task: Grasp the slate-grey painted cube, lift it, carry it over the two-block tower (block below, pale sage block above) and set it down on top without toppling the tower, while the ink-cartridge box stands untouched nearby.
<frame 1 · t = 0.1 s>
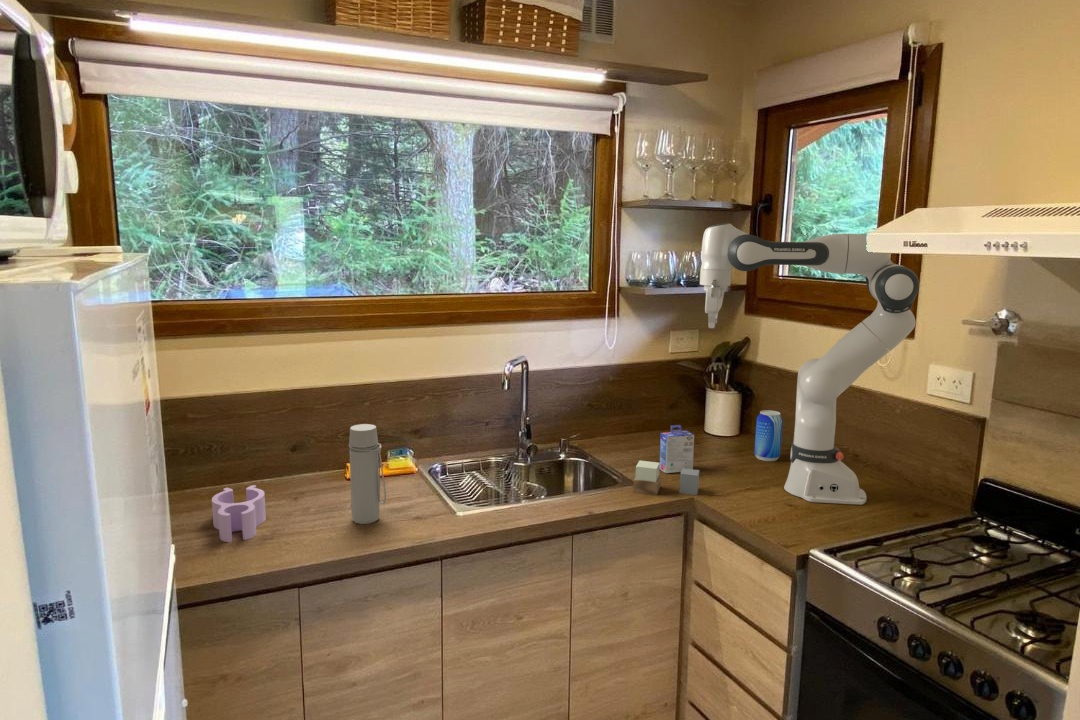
hand: (712, 326, 209), 48 cm above the worktop, fingers open, 8 cm apart
tower base: (646, 490, 208), on the worktop, touching tower top
ink cartridge box: (675, 470, 226), on the worktop
tower top: (647, 477, 207), point 4 cm above the worktop, touching tower base
clip: (239, 526, 179), on the worktop
water bottle: (369, 520, 183), on the worktop
grey block: (688, 491, 207), on the worktop
beer can: (766, 458, 239), on the worktop
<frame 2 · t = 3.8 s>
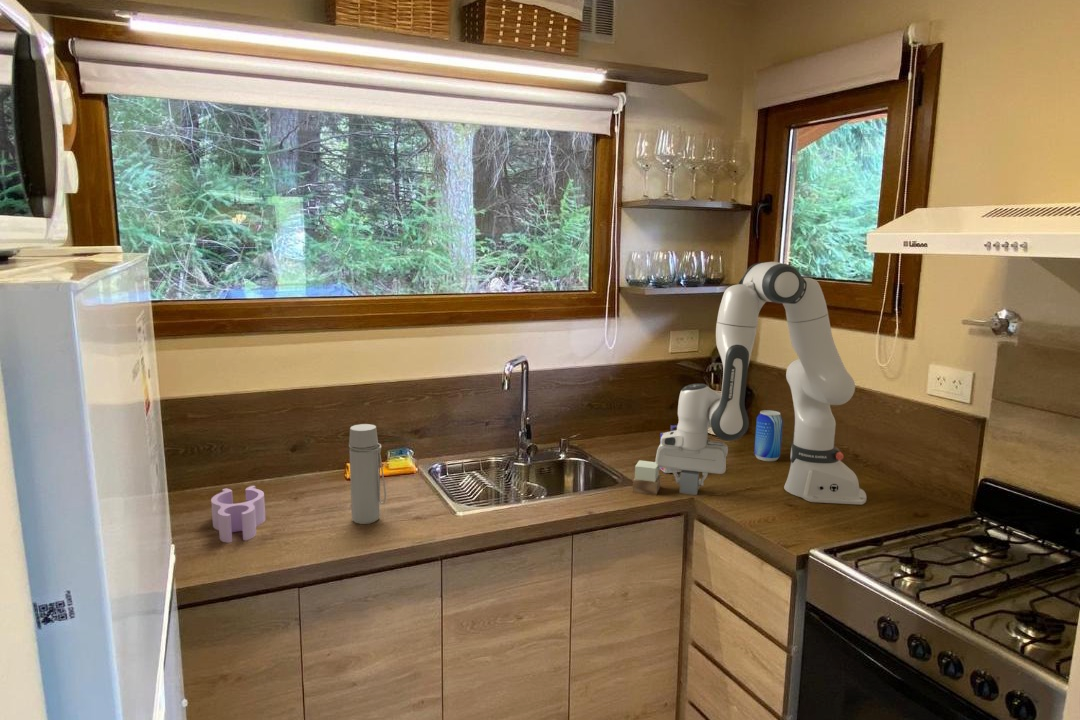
hand: (689, 484, 207), 2 cm above the worktop, fingers closed on grey block, 5 cm apart
grey block: (688, 491, 207), on the worktop, touching gripper
everything else where it was.
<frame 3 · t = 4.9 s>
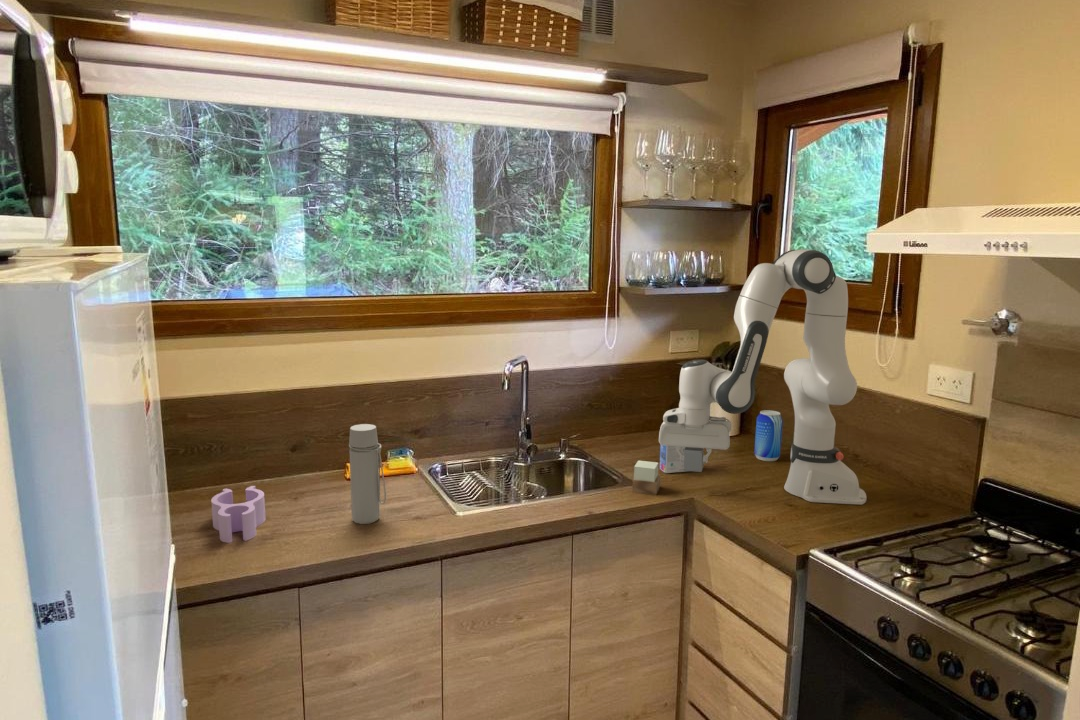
hand: (693, 461, 206), 9 cm above the worktop, fingers closed on grey block, 5 cm apart
grey block: (693, 468, 206), point 7 cm above the worktop, touching gripper
everything else where it was.
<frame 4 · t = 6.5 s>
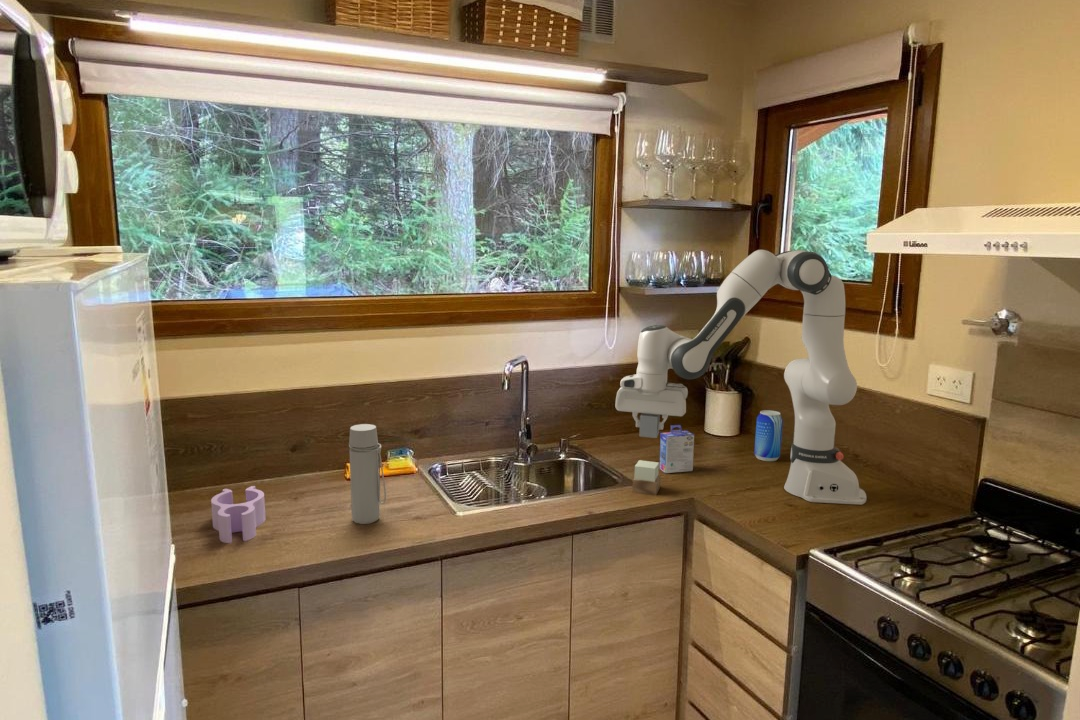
hand: (649, 427, 205), 19 cm above the worktop, fingers closed on grey block, 5 cm apart
grey block: (649, 434, 205), point 17 cm above the worktop, touching gripper
everything else where it was.
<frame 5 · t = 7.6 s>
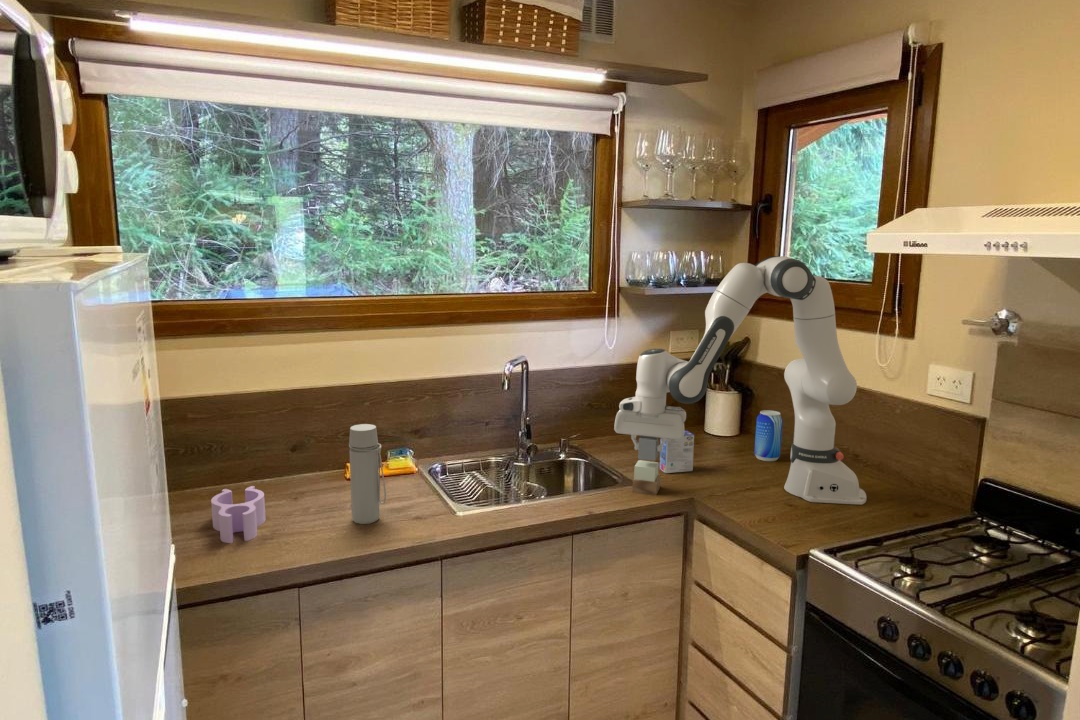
hand: (648, 450, 206), 12 cm above the worktop, fingers closed on grey block, 5 cm apart
grey block: (647, 457, 206), point 10 cm above the worktop, touching gripper
everything else where it was.
when the fingers open (11 cm above the worktop, at t = 8.3 s): grey block stays where it is, resting on tower top.
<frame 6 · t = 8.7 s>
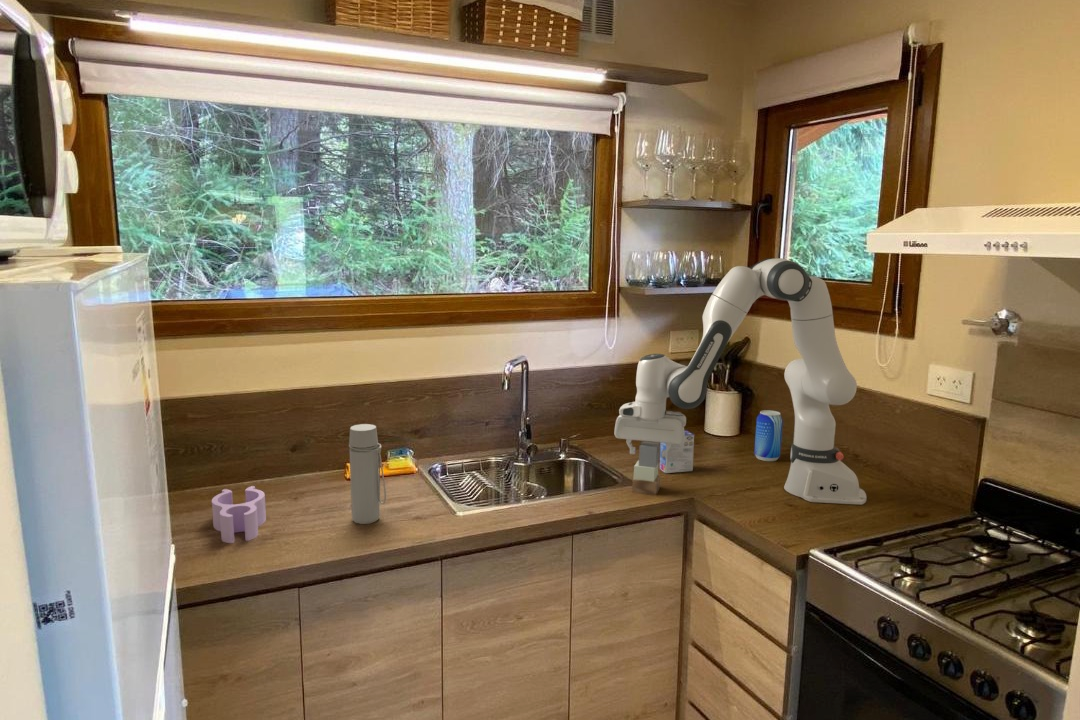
hand: (648, 455, 206), 11 cm above the worktop, fingers open, 8 cm apart
tower top: (645, 477, 207), point 4 cm above the worktop, touching grey block, tower base
grey block: (648, 464, 207), point 8 cm above the worktop, touching tower top
everything else where it was.
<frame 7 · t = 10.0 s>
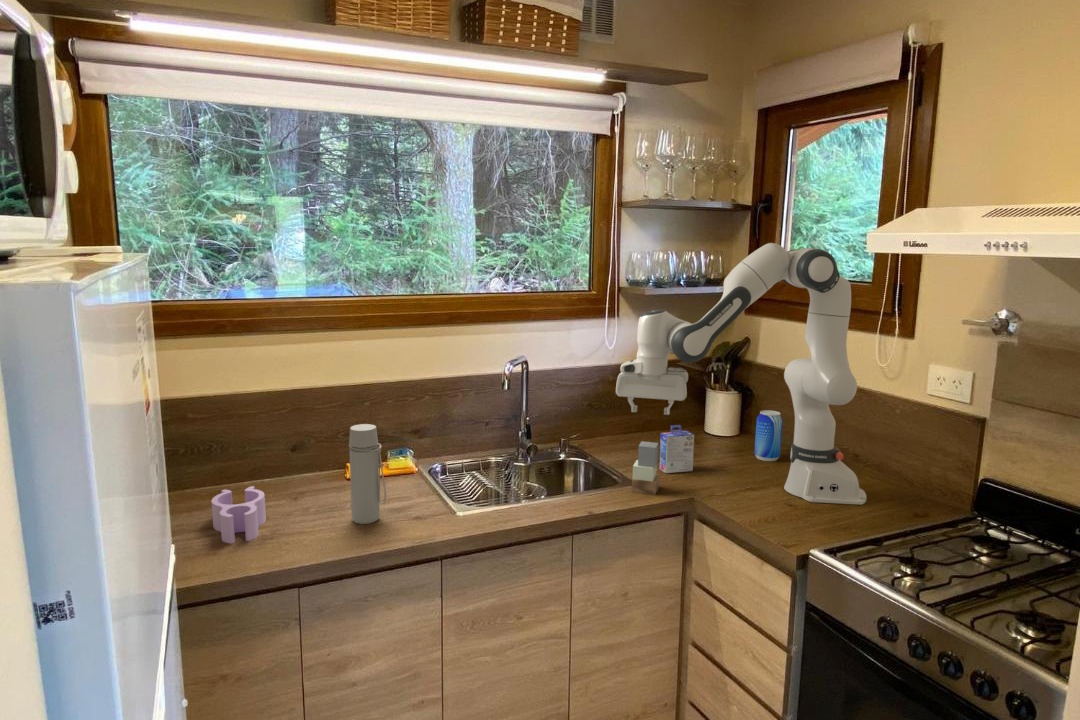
hand: (650, 413, 204), 23 cm above the worktop, fingers open, 8 cm apart
nothing on the worktop moved.
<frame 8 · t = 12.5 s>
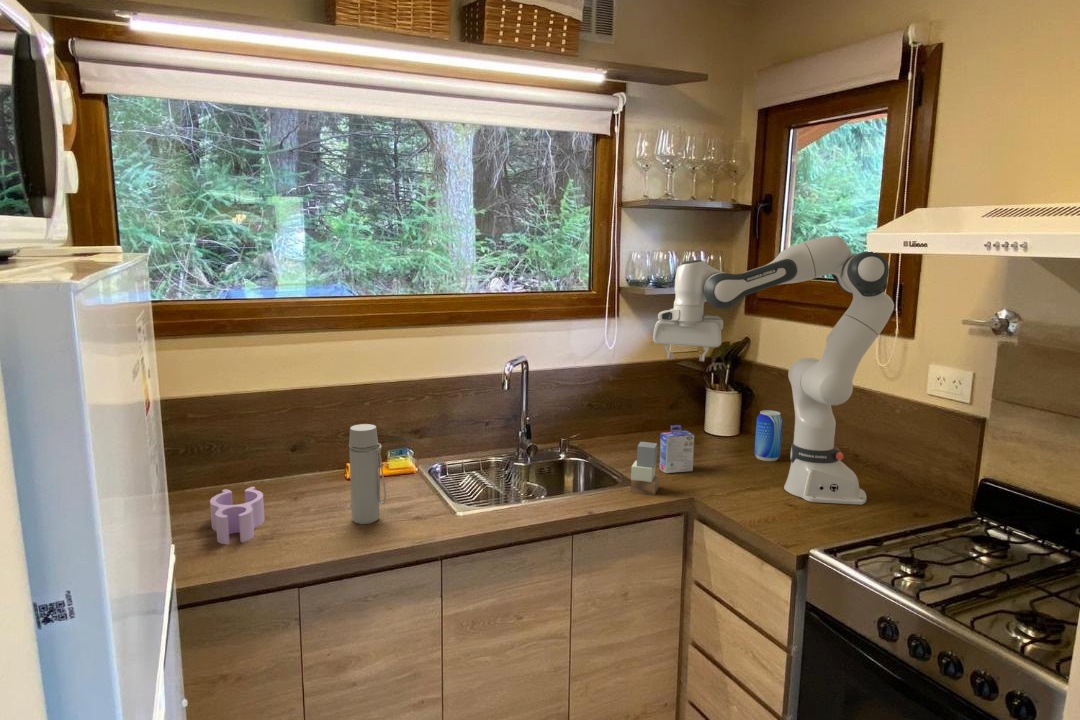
hand: (685, 359, 213), 37 cm above the worktop, fingers open, 8 cm apart
at the end: grey block 0.3 cm from the tower base (horizontally); grey block point 7.7 cm above the worktop; grey block tilted 0° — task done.
